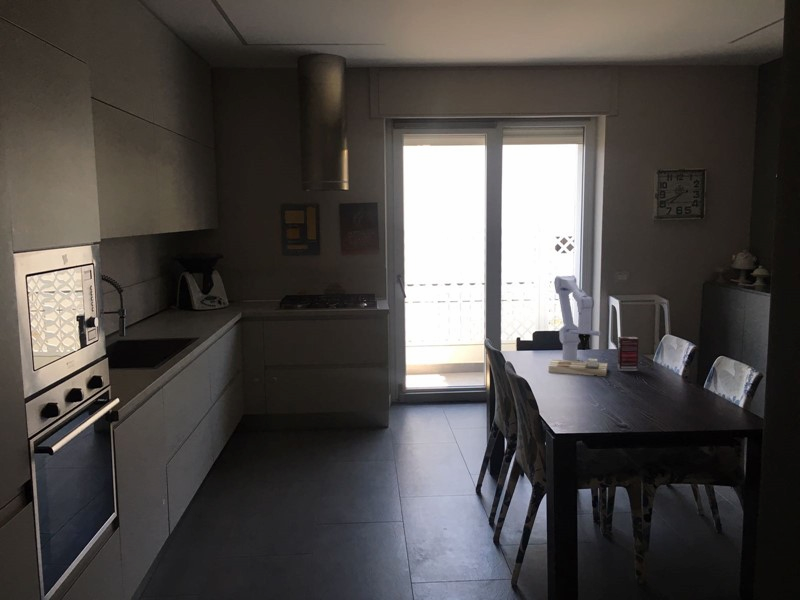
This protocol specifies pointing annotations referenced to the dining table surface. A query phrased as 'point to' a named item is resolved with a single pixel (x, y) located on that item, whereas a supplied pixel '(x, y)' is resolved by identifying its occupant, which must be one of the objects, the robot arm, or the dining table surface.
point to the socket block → (577, 367)
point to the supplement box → (628, 353)
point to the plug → (592, 362)
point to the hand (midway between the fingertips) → (584, 349)
